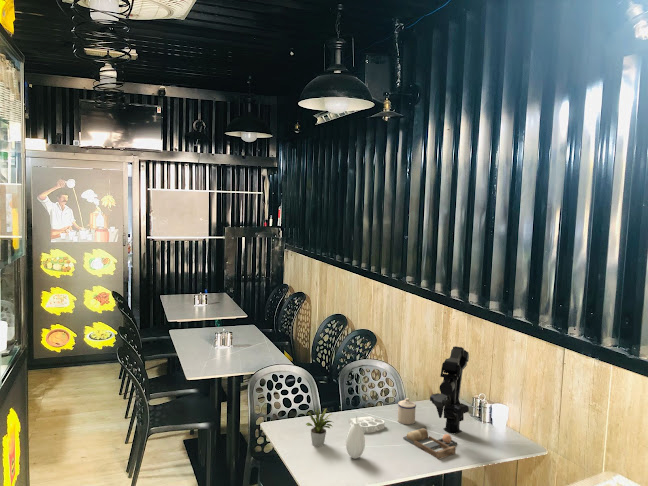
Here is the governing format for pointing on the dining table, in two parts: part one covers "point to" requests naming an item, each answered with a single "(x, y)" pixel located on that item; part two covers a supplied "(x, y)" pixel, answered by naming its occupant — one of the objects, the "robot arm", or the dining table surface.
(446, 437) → the ball
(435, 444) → the runway mat
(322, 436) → the house plant
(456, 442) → the grey square frame
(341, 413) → the dining table surface
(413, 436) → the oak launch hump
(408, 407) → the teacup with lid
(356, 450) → the white vase
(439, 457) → the walnut lane
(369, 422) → the white paint palette
